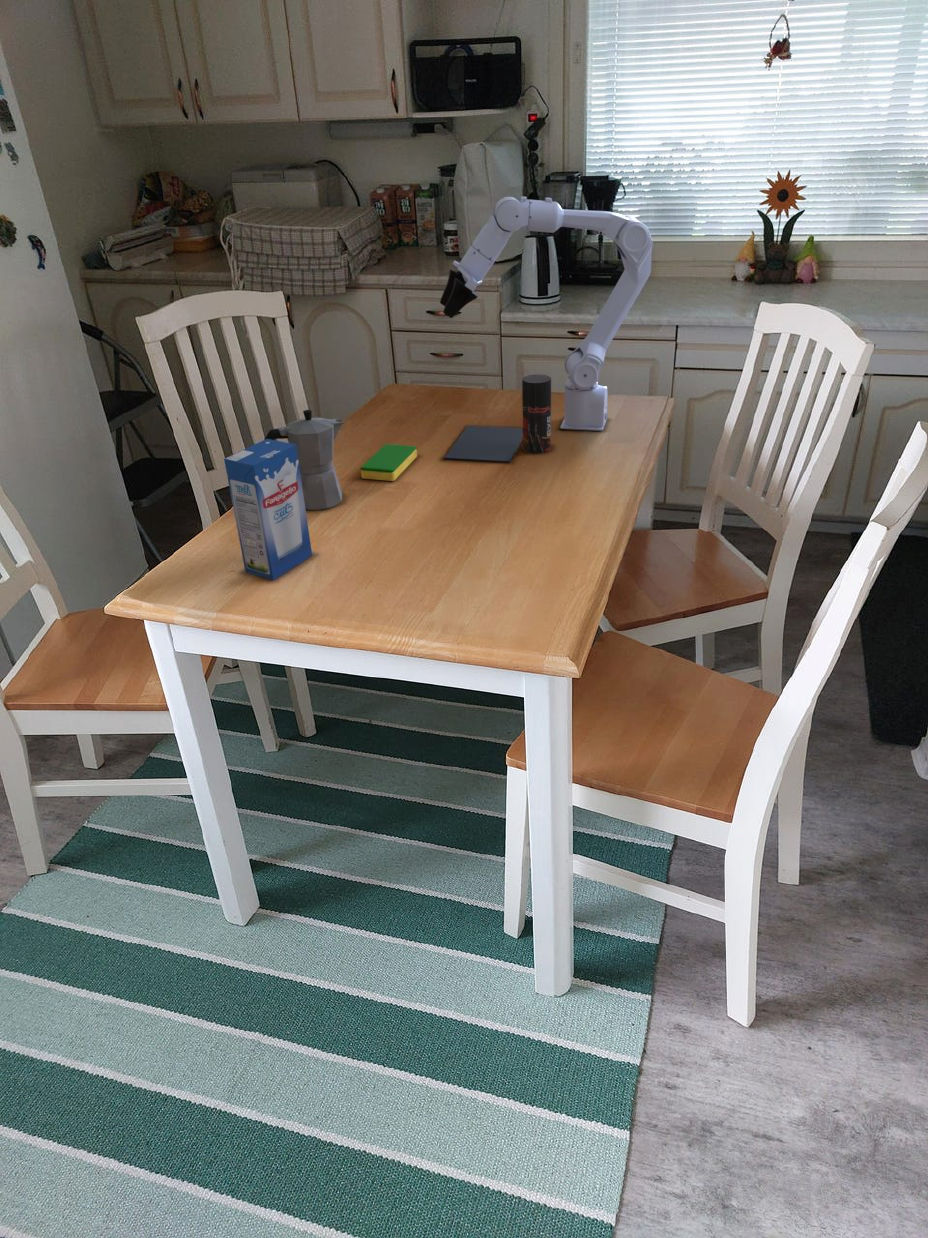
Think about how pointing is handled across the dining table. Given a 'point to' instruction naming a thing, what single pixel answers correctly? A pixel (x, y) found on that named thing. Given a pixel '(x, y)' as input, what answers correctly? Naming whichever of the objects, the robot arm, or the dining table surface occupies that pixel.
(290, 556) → the milk carton
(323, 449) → the coffeepot
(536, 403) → the deodorant
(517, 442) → the mat
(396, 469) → the dish sponge
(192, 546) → the dining table surface
